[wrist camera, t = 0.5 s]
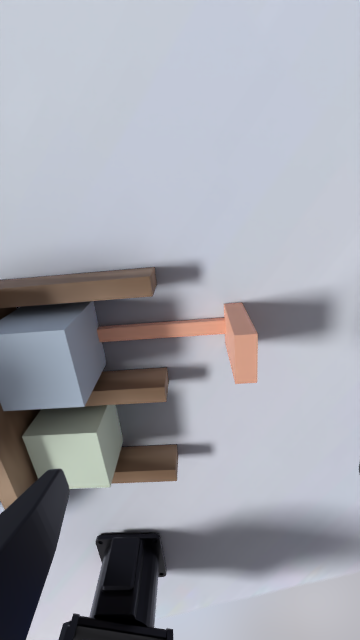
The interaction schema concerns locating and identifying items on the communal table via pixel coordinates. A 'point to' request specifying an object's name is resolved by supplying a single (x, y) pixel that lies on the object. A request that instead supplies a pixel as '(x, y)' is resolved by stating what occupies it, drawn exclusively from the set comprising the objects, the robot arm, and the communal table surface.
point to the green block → (76, 444)
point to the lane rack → (111, 388)
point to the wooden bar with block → (94, 350)
